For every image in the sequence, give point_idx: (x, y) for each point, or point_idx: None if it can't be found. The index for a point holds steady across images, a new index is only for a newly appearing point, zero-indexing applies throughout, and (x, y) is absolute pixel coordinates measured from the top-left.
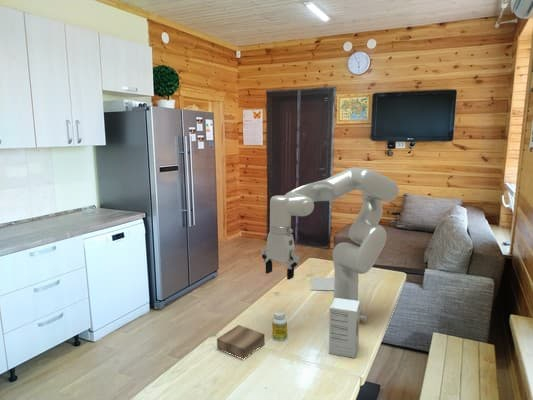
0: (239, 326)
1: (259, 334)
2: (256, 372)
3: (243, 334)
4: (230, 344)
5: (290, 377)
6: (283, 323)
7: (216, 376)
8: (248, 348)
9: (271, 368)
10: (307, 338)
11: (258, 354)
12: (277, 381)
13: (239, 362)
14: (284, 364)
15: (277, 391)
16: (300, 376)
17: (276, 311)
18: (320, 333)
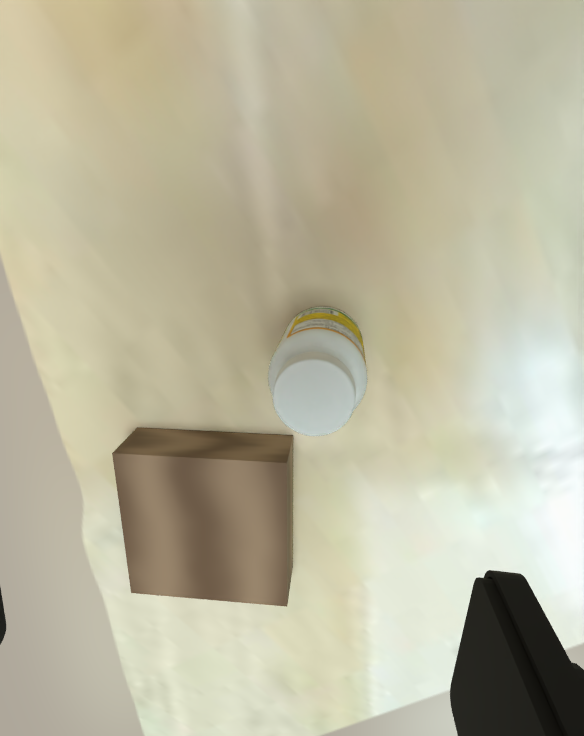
0: (128, 462)
1: (268, 479)
2: (382, 603)
3: (201, 515)
4: (210, 597)
5: None
6: (360, 399)
7: (273, 670)
8: (288, 568)
9: (421, 562)
10: (464, 269)
11: (318, 511)
12: None
13: None
14: (457, 520)
15: None
16: (555, 555)
17: (279, 389)
18: (517, 167)
